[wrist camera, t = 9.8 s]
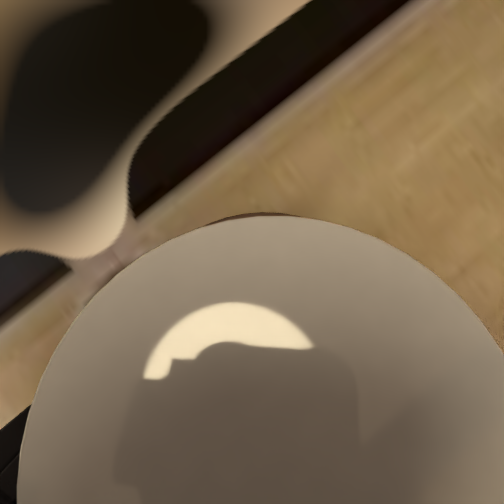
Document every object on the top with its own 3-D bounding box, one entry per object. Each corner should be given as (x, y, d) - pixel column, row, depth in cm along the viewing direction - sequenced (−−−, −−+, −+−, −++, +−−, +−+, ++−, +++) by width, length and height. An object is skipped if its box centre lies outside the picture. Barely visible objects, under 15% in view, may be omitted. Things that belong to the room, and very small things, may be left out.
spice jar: (382, 370, 14) (683, 519, 4) (262, 486, 14) (266, 992, 4) (271, 247, 15) (293, 124, 5) (154, 350, 15) (-86, 440, 5)
